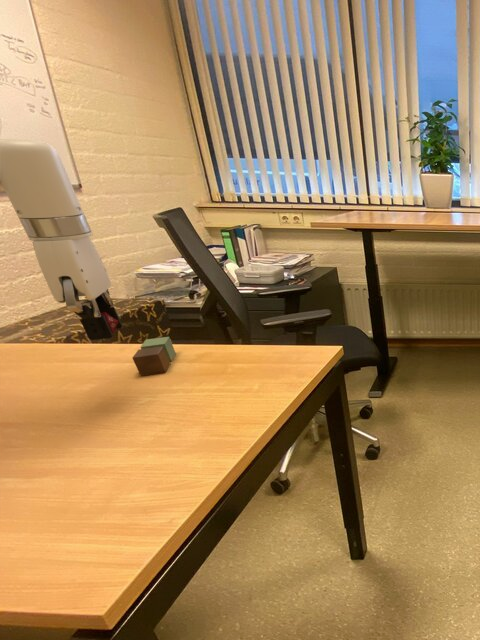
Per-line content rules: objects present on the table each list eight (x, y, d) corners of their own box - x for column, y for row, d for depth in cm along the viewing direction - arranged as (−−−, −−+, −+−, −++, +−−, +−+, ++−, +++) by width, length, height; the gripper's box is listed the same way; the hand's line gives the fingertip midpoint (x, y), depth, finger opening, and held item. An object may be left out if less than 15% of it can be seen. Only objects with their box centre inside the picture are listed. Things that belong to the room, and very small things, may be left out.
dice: (91, 333, 75) (81, 312, 74) (123, 328, 78) (114, 307, 76) (90, 340, 73) (80, 318, 71) (123, 334, 75) (114, 313, 73)
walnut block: (140, 376, 90) (132, 357, 88) (146, 367, 93) (138, 349, 91) (165, 372, 91) (157, 354, 89) (170, 364, 95) (163, 346, 93)
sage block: (148, 364, 95) (140, 346, 92) (153, 357, 98) (145, 339, 96) (171, 361, 96) (164, 343, 94) (176, 353, 100) (169, 336, 98)
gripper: (52, 221, 72) (98, 320, 81) (-4, 238, 59) (59, 355, 67) (106, 219, 75) (145, 315, 83) (65, 235, 61) (116, 348, 70)
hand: (106, 332), depth 75 cm, fingers closed on dice, 4 cm apart
